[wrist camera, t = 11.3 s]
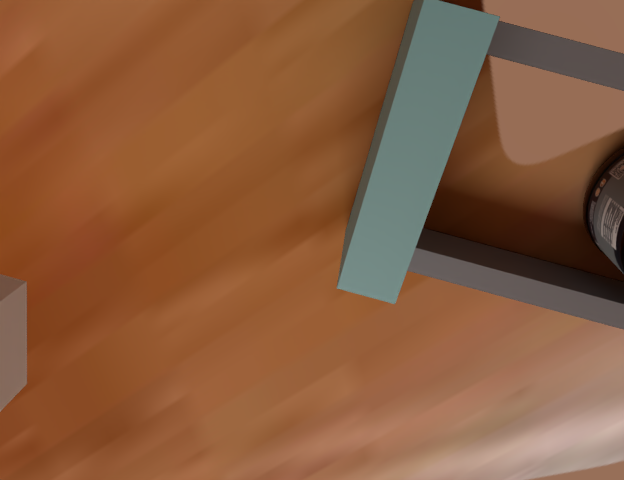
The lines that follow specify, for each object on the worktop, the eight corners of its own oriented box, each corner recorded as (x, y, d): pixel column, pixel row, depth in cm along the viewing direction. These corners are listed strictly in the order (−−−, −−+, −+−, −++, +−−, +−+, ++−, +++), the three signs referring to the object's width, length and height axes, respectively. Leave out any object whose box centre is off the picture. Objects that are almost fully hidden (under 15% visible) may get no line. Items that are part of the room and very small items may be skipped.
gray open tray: (413, 0, 35) (425, -4, 26) (821, 108, 35) (975, 142, 26) (345, 230, 43) (336, 288, 34) (680, 321, 43) (761, 404, 34)
